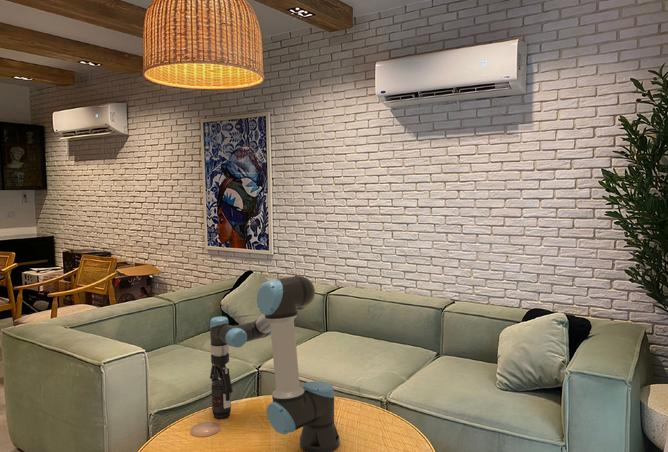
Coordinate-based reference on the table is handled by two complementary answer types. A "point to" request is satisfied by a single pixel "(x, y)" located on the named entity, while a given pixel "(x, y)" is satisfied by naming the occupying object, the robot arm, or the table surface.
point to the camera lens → (219, 401)
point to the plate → (205, 429)
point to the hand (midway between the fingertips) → (221, 401)
